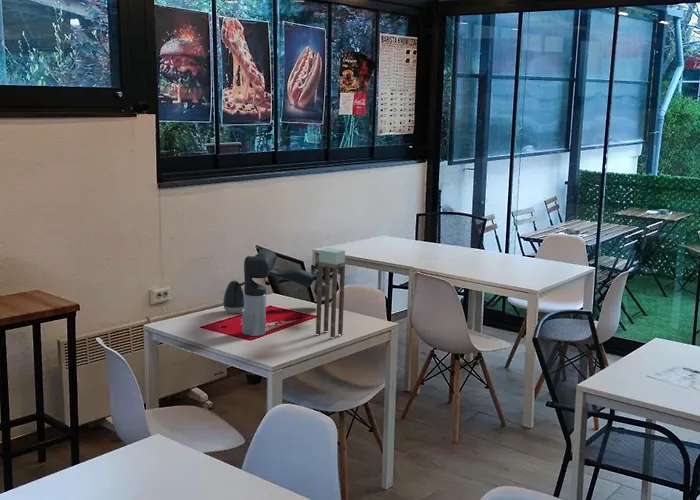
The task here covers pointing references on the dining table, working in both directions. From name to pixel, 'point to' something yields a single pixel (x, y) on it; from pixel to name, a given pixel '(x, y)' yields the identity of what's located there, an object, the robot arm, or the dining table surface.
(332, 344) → the dining table surface
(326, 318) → the walnut stand
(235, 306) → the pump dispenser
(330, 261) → the mint green block
